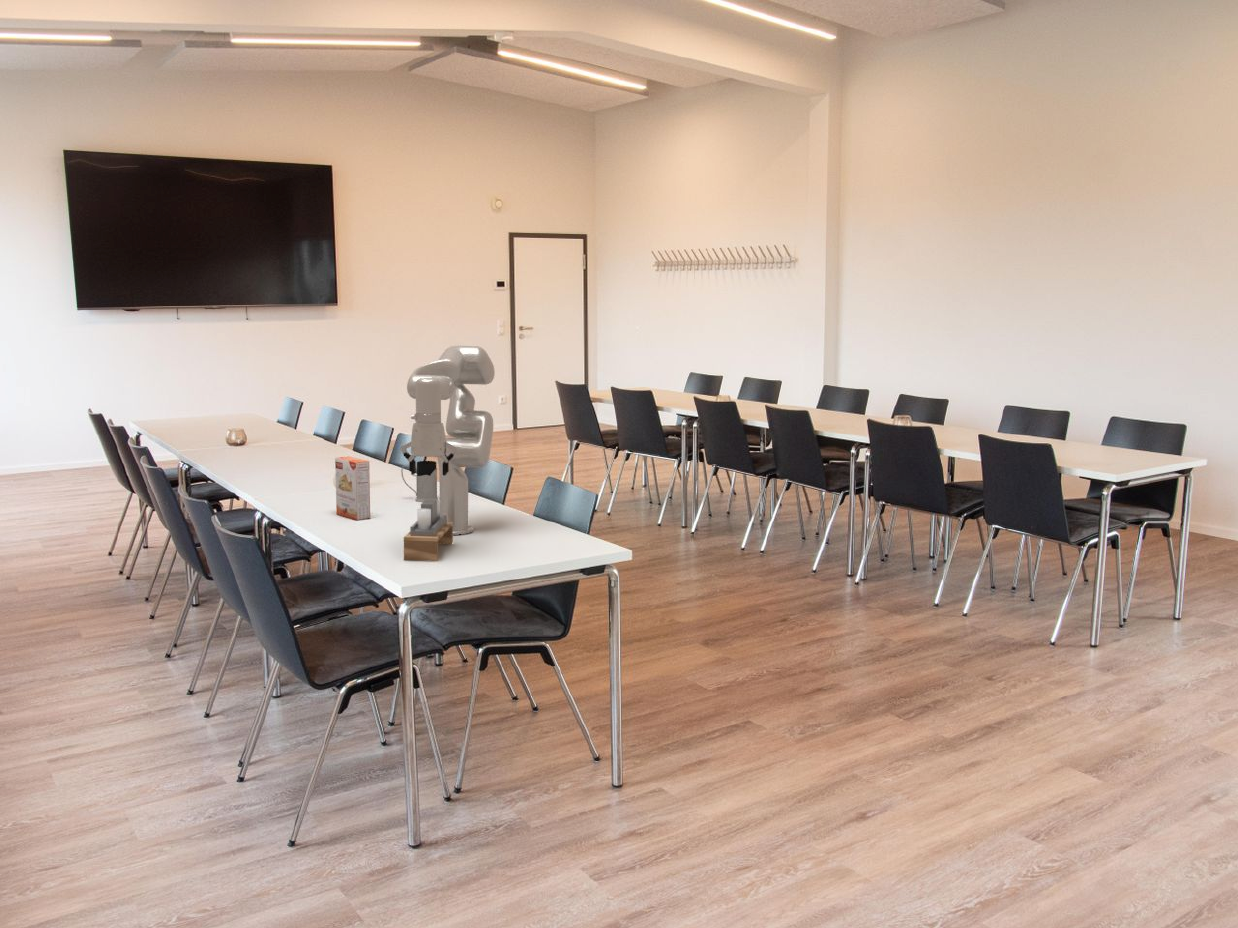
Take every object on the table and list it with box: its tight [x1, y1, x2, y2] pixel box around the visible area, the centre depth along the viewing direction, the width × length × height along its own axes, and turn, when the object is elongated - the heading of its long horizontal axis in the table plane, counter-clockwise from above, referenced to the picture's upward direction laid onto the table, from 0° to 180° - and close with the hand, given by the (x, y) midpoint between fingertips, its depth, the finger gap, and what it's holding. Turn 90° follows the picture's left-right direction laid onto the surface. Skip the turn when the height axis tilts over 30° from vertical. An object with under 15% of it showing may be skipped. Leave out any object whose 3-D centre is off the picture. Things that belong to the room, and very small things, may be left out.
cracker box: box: [334, 456, 371, 521], centre depth 377 cm, size 14×6×21 cm, turn 45°
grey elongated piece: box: [409, 499, 447, 536], centre depth 326 cm, size 20×7×8 cm, turn 178°
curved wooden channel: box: [403, 522, 454, 562], centre depth 327 cm, size 24×10×7 cm, turn 178°
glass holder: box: [400, 460, 439, 503], centre depth 412 cm, size 9×14×15 cm, turn 89°
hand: (429, 474), depth 324 cm, fingers open, 9 cm apart
